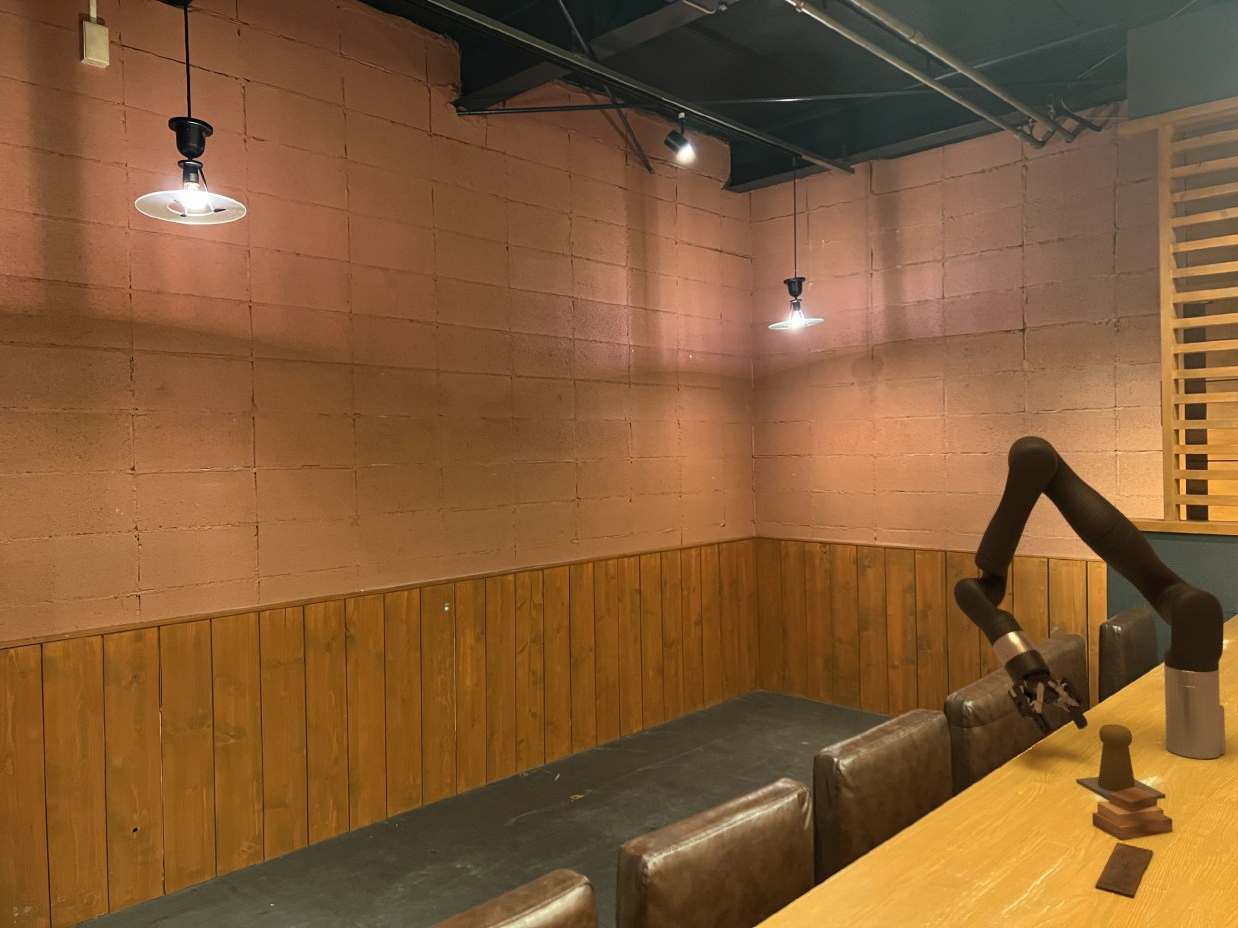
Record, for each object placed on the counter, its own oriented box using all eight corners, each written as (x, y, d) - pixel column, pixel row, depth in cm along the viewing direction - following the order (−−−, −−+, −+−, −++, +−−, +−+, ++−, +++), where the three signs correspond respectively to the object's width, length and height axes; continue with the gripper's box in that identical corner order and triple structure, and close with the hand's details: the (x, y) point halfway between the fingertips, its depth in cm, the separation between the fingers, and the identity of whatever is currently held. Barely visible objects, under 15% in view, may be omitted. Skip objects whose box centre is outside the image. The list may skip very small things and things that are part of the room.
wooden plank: (1116, 839, 140) (1153, 846, 136) (1117, 847, 140) (1153, 854, 136) (1094, 885, 127) (1134, 894, 124) (1095, 894, 127) (1135, 903, 124)
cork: (1132, 781, 163) (1130, 721, 162) (1139, 793, 157) (1137, 732, 157) (1095, 778, 165) (1093, 719, 164) (1101, 790, 159) (1099, 730, 159)
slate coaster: (1124, 776, 166) (1124, 773, 166) (1165, 797, 156) (1165, 794, 156) (1076, 782, 165) (1076, 778, 165) (1114, 803, 155) (1114, 800, 155)
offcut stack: (1142, 816, 149) (1141, 784, 149) (1173, 831, 143) (1172, 798, 143) (1092, 824, 147) (1091, 792, 147) (1122, 840, 141) (1121, 806, 141)
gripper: (1002, 652, 177) (1049, 725, 166) (1057, 644, 181) (1106, 715, 171) (983, 672, 182) (1028, 745, 171) (1037, 664, 187) (1084, 734, 176)
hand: (1067, 730), depth 171 cm, fingers open, 8 cm apart
